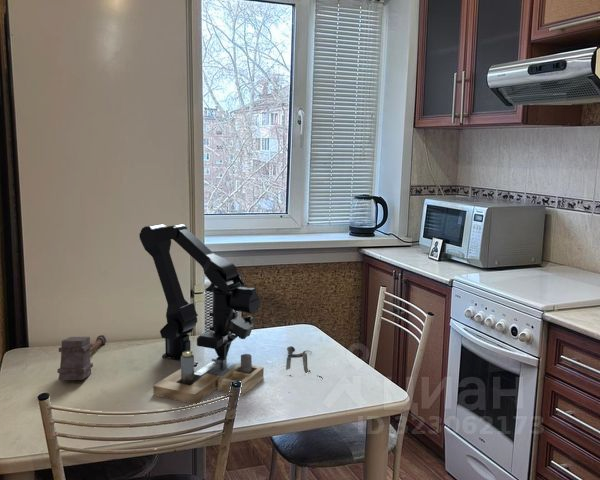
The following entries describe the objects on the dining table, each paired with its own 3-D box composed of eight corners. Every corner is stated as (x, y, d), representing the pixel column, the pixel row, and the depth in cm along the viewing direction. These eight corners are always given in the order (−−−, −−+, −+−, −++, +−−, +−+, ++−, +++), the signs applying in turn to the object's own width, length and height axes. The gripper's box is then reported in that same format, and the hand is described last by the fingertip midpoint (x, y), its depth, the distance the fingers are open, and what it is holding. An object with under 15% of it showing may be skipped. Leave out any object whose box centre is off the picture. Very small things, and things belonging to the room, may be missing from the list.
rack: (217, 390, 147) (217, 365, 146) (240, 373, 158) (240, 349, 156) (242, 395, 144) (242, 369, 143) (263, 378, 155) (263, 353, 154)
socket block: (153, 394, 143) (153, 385, 143) (181, 377, 154) (181, 368, 154) (195, 404, 139) (195, 394, 138) (220, 385, 150) (220, 376, 149)
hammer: (56, 380, 147) (57, 341, 147) (91, 358, 180) (92, 325, 180) (83, 380, 148) (84, 341, 148) (113, 357, 180) (114, 325, 181)
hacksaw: (287, 349, 178) (287, 345, 177) (320, 350, 178) (320, 345, 177) (284, 382, 154) (284, 376, 154) (322, 383, 154) (323, 377, 154)
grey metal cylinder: (178, 391, 146) (178, 353, 144) (185, 386, 149) (185, 349, 147) (189, 393, 144) (189, 355, 143) (196, 388, 147) (196, 351, 146)
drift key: (191, 382, 151) (191, 371, 151) (215, 365, 162) (215, 356, 162) (203, 384, 150) (203, 374, 149) (226, 368, 161) (226, 358, 161)
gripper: (232, 321, 148) (232, 378, 151) (263, 303, 166) (263, 355, 168) (195, 315, 153) (195, 371, 155) (229, 298, 170) (229, 349, 172)
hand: (223, 361), depth 163 cm, fingers closed
